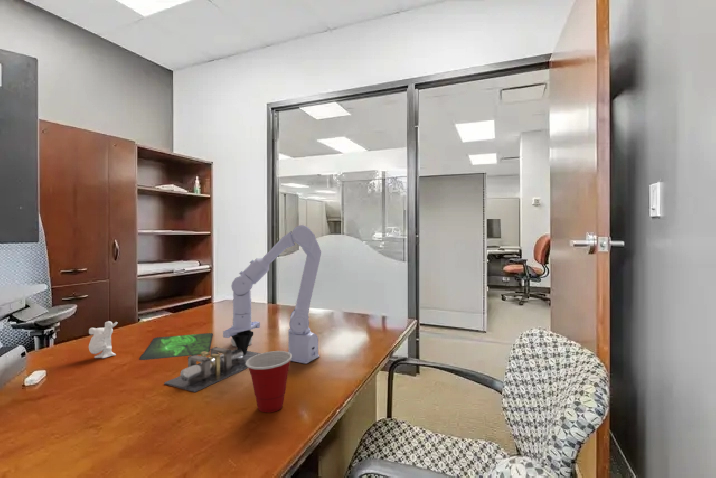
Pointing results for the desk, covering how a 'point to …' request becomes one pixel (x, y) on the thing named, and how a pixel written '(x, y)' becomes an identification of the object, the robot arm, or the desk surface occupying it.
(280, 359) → the plastic cup
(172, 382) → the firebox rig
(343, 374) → the desk surface
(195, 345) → the mouse mat
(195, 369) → the tube
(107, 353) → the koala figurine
